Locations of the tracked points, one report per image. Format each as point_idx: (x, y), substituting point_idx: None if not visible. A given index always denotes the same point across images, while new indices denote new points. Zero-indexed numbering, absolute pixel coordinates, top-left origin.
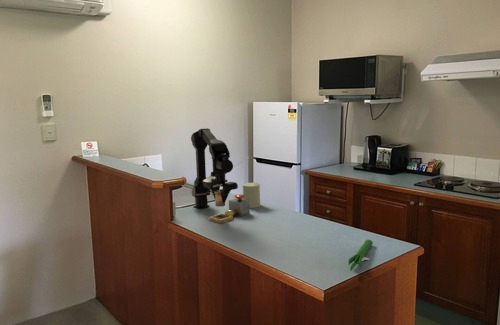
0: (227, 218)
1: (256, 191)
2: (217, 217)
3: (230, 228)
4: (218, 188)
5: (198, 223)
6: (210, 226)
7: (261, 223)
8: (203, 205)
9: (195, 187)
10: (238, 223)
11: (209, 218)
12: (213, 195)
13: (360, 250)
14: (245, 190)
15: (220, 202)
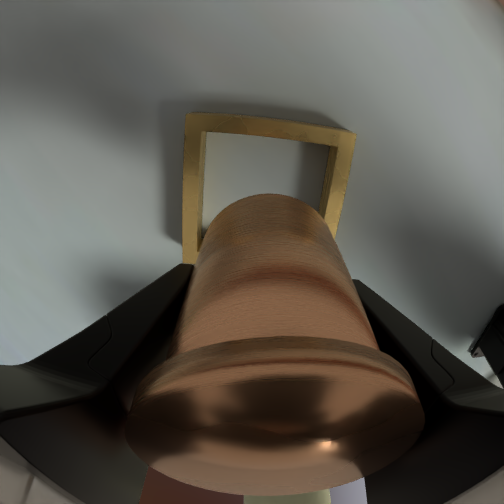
0: (183, 197)
1: (245, 499)
2: (319, 211)
3: (55, 79)
4: (380, 493)
5: (366, 24)
6: (213, 8)
7: (19, 266)
8: (497, 330)
9: None
10: (89, 194)
11: (346, 131)
12: (422, 330)
13: None
14: (297, 497)
15: (210, 240)
